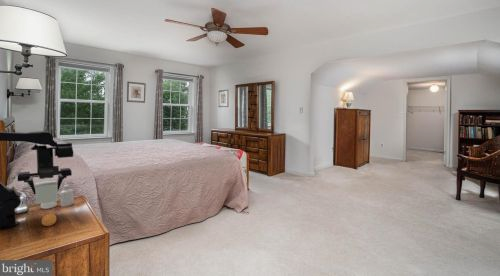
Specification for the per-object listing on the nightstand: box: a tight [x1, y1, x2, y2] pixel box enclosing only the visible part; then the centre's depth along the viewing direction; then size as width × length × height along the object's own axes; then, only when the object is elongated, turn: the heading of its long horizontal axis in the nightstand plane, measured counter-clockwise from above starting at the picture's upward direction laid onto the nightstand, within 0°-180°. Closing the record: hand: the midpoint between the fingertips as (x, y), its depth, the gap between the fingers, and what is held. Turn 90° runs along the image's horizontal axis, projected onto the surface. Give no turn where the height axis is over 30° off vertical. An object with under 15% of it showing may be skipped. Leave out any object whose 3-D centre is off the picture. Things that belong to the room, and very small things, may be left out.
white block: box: [34, 179, 59, 205], centre depth 114 cm, size 8×8×8 cm
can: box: [40, 201, 58, 210], centre depth 127 cm, size 6×6×12 cm
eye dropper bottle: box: [59, 182, 74, 208], centre depth 130 cm, size 4×6×12 cm
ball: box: [41, 213, 57, 227], centre depth 107 cm, size 5×5×5 cm
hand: (46, 192), depth 114 cm, fingers closed on white block, 8 cm apart
